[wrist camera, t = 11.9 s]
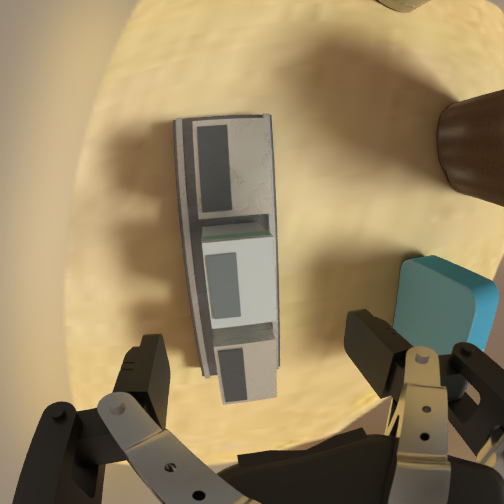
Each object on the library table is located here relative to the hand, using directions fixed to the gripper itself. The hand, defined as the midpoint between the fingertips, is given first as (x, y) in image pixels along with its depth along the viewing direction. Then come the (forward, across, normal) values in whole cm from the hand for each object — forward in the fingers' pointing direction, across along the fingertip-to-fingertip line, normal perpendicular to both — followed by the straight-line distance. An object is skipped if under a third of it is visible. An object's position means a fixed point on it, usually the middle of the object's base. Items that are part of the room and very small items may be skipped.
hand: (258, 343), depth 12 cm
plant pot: (+15, -30, -11) cm, 35 cm away
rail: (+15, 0, 0) cm, 15 cm away
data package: (+15, -21, +8) cm, 27 cm away
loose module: (+13, 0, 0) cm, 13 cm away
